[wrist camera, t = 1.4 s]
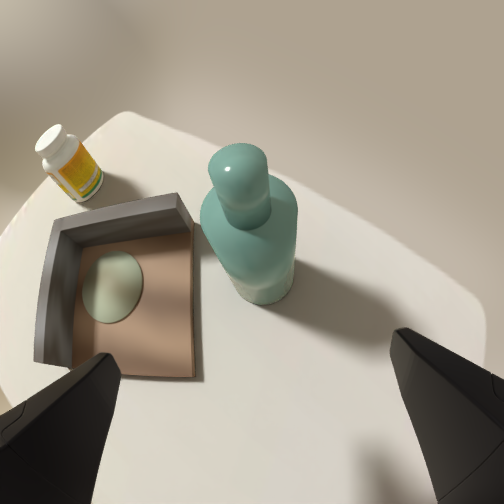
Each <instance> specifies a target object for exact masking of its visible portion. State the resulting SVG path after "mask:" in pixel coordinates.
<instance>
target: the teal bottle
mask: <svg viewBox="0 0 504 504" xmlns="http://www.w3.org/2000/svg"><path fill="white" fill-rule="evenodd" d="M208 172H209V175H210V178H211V180H212V183H213V186H214V187H213V188H212V189H211V190H210V191H209V193H208V194H207V196H206V197H205V199H204V201H203V204H202V206H201V210H200V223H201V227H202V230H203V232H204V234H205V236H206V238H207V239H208V241H209V243H210V245H211V246H212V248H213V250H214V252H215V254H216V255H217V257H218V259H219V261H220V262H221V264H222V266H223V268H224V269H225V271H226V273H227V275H228V276H229V278H230V280H231V281H232V283H233V285H234V287H235V288H236V290H237V292H238V293H239V294H240V296H241V297H242V298H244V299H245V300H246V301H248V302H250V303H253V304H257V305H268V304H272V303H275V302H277V301H279V300H280V299H282V298H283V297H284V296H285V295H286V294H287V293H288V291H289V290H290V288H291V286H292V283H293V276H294V263H295V248H296V233H297V215H298V207H297V201H296V198H295V196H294V194H293V192H292V191H291V189H290V188H289V187H288V186H287V185H286V184H285V183H284V182H283V181H281V180H280V179H278V178H276V177H274V176H272V175H269V174H268V166H267V159H266V156H265V154H264V152H263V151H262V150H261V149H260V148H258V147H256V146H254V145H251V144H245V143H237V144H232V145H228V146H226V147H224V148H222V149H220V150H219V151H217V152H216V153H215V154H214V155H213V156H212V158H211V159H210V162H209V165H208Z"/></svg>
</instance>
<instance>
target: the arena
mask: <svg viewBox="0 0 504 504" xmlns="http://www.w3.org/2000/svg"><path fill="white" fill-rule="evenodd" d="M193 240H194V221H193V219H192V217H191V216H190V214H189V212H188V210H187V209H186V207H185V205H184V203H183V202H182V200H181V198H180V196H179V194H178V193H177V192H176V193H171V194H165V195H160V196H155V197H150V198H145V199H140V200H135V201H130V202H125V203H121V204H116V205H112V206H107V207H103V208H99V209H95V210H90V211H86V212H82V213H78V214H74V215H71V216H67V217H63V218H59V219H56V220H54V223H53V227H52V231H51V235H50V239H49V243H48V247H47V252H46V256H45V261H44V266H43V271H42V277H41V283H40V289H39V296H38V304H37V313H36V323H35V337H34V362H38V363H43V364H49V365H55V366H61V367H68V368H77V367H78V366H80V365H81V364H83V363H84V362H86V361H87V360H89V359H90V358H92V357H94V356H95V355H97V354H98V353H100V352H105V353H111V354H112V355H113V357H114V359H115V361H116V363H117V365H118V367H119V368H120V371H121V374H128V375H143V376H165V377H195V356H194V326H193Z"/></svg>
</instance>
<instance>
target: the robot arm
mask: <svg viewBox="0 0 504 504" xmlns="http://www.w3.org/2000/svg"><path fill="white" fill-rule="evenodd" d="M390 357H391V361H392V364H393V367H394V371H395V374H396V378H397V381H398V385H399V389H400V392H401V396H402V398H403V401H404V404H405V406H406V409H407V411H408V414H409V417H410V419H411V422H412V425H413V427H414V430H415V433H416V436H417V438H418V441H419V444H420V447H421V450H422V453H423V456H424V459H425V462H426V465H427V468H428V471H429V475H430V478H431V481H432V485H433V488H434V492H435V495H436V499H437V501H438V502H437V503H438V504H504V379H502V378H500V377H498V376H496V375H494V374H491V373H490V372H489V371H487V370H485V369H483V368H481V367H480V366H478V365H476V364H474V363H472V362H470V361H469V360H467V359H465V358H463V357H461V356H459V355H458V354H456V353H454V352H452V351H450V350H448V349H446V348H445V347H443V346H441V345H439V344H437V343H435V342H434V341H432V340H430V339H428V338H426V337H424V336H422V335H421V334H419V333H417V332H415V331H413V330H411V329H409V328H407V327H404V328H399V329H396V330H395V331H394V332H393V336H392V342H391V347H390ZM120 380H121V371H120V368H119V367H118V365H117V363H116V361H115V359H114V357H113V355H112V354H111V353H105V352H100V353H98V354H97V355H95V356H94V357H92V358H90V359H89V360H87V361H86V362H84V363H83V364H81V365H80V366H78V367H77V368H75V369H73V370H72V371H70V372H69V373H67V374H66V375H64V376H63V377H61V378H60V379H58V380H56V381H55V382H53V383H52V384H50V385H49V386H47V387H46V388H44V389H42V390H41V391H39V392H38V393H36V394H35V395H33V396H32V397H30V398H28V399H27V400H25V401H24V402H22V403H21V404H19V405H17V406H16V407H14V408H13V409H11V410H9V411H8V412H6V413H4V414H2V415H0V504H91V501H92V496H93V491H94V487H95V482H96V478H97V473H98V469H99V465H100V461H101V457H102V453H103V450H104V446H105V442H106V439H107V435H108V431H109V428H110V425H111V421H112V418H113V414H114V410H115V405H116V400H117V395H118V390H119V385H120Z"/></svg>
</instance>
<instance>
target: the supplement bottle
mask: <svg viewBox="0 0 504 504" xmlns="http://www.w3.org/2000/svg"><path fill="white" fill-rule="evenodd" d="M35 151H36V152H37V153H38V154H39V156H40V157H41V158H43V168H44V170H45V171H46V173H47V174H48V175H49V176H50V177H51V178H52V179H53V180H54V181H55V182H56V183H57V184H58V185H59V187H60V188H61V189H62V190H63V191H64V192H65V193H66V194H67V195H68V196H69V197H70V198H71V199H72V200H73V201H75V202H83V201H86V200H88V199H89V198H91V197H92V196H93V195H94V194H95V193H96V192H97V191H98V190H99V188H100V187H101V184H102V182H103V172H102V170H101V169H100V168H99V166H98V165H97V164H96V162H95V161H94V160H93V158H92V157H91V155H90V154H89V153H88V151H87V150H86V149H85V147H84V146H83V144H82V143H81V142H80V140H79V139H78V138H77V137H76V136H75V135H67V133H66V130H65V129H64V128H63V127H62V125H60V124H57V125H55V126H53V127H51V128H50V129H49V130H47V131H46V132H45V133H44V134H43V135H42V136H41V138H40V139H39V141H38V142H37V144H36V146H35Z"/></svg>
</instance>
